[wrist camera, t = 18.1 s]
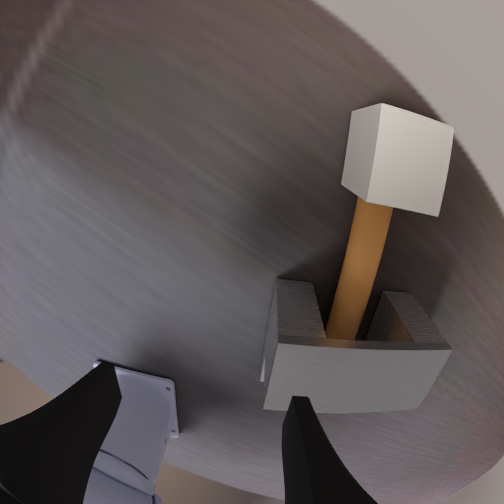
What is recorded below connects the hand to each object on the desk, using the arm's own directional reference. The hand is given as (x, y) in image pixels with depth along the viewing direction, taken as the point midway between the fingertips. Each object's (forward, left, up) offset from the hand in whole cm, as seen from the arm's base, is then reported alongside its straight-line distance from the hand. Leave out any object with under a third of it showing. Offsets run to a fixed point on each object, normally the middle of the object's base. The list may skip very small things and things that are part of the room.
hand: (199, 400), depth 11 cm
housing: (-3, -8, -10) cm, 13 cm away
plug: (+2, -8, -10) cm, 13 cm away
